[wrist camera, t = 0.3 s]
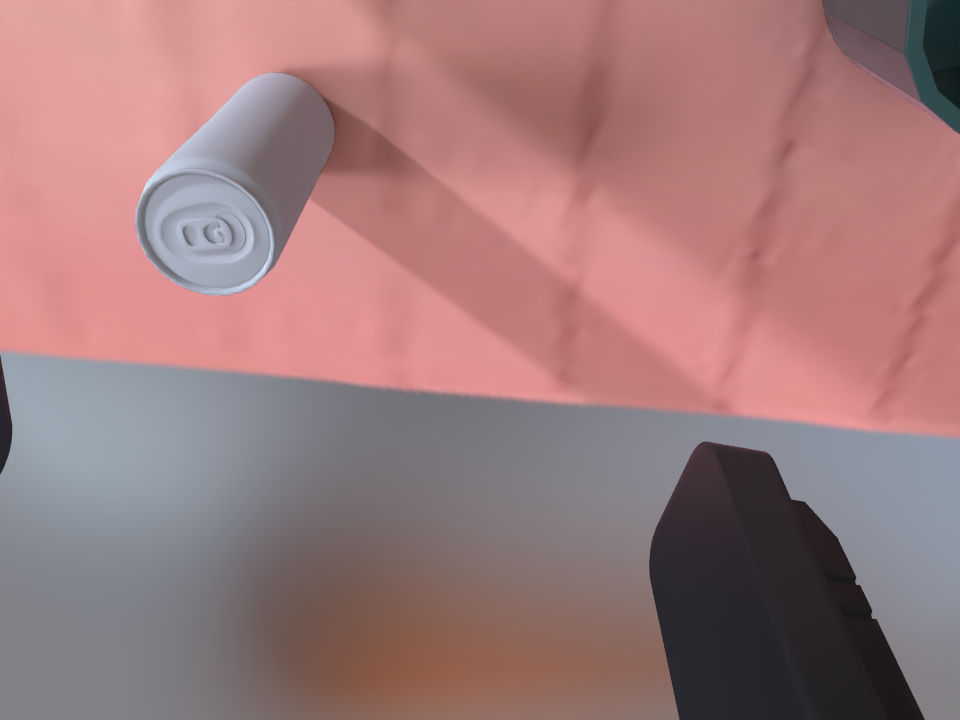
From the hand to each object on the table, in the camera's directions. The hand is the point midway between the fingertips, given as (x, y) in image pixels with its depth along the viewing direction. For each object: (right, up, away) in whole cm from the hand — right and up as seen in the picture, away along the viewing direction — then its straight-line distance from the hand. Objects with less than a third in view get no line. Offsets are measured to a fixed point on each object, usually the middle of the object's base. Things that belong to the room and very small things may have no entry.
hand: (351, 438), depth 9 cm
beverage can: (-7, +12, +27) cm, 30 cm away
